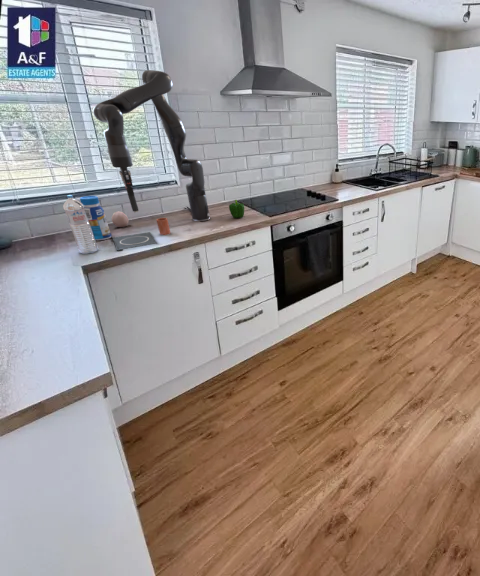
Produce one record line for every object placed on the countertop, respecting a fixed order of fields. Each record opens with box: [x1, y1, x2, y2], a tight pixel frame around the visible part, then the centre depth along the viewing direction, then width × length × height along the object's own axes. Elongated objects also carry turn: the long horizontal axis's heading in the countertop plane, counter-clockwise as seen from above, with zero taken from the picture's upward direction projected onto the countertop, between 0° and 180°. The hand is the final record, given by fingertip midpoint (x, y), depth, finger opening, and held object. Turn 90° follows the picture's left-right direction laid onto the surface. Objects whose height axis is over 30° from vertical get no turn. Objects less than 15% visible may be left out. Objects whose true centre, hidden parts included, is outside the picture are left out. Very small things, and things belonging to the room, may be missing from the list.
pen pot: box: [156, 217, 171, 236], centre depth 186 cm, size 5×5×8 cm
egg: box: [111, 211, 129, 228], centre depth 194 cm, size 7×7×8 cm
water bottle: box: [62, 194, 99, 255], centre depth 159 cm, size 7×7×25 cm
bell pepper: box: [228, 199, 245, 219], centre depth 217 cm, size 8×8×10 cm
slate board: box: [112, 231, 158, 252], centre depth 177 cm, size 20×16×1 cm
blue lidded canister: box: [79, 195, 113, 241], centre depth 176 cm, size 8×8×20 cm
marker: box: [124, 183, 140, 214], centre depth 169 cm, size 2×2×13 cm
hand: (131, 194), depth 169 cm, fingers closed on marker, 2 cm apart
